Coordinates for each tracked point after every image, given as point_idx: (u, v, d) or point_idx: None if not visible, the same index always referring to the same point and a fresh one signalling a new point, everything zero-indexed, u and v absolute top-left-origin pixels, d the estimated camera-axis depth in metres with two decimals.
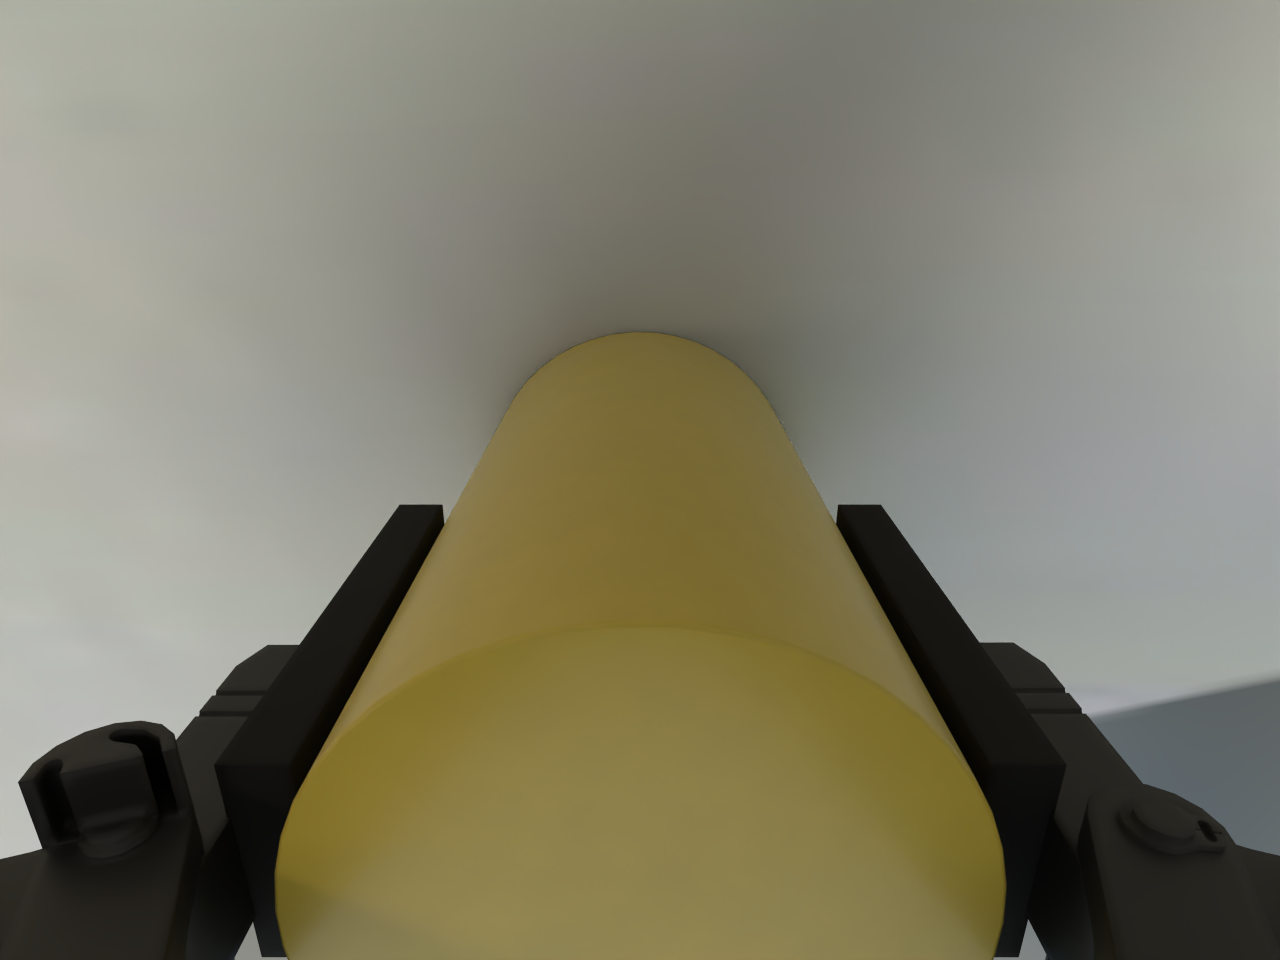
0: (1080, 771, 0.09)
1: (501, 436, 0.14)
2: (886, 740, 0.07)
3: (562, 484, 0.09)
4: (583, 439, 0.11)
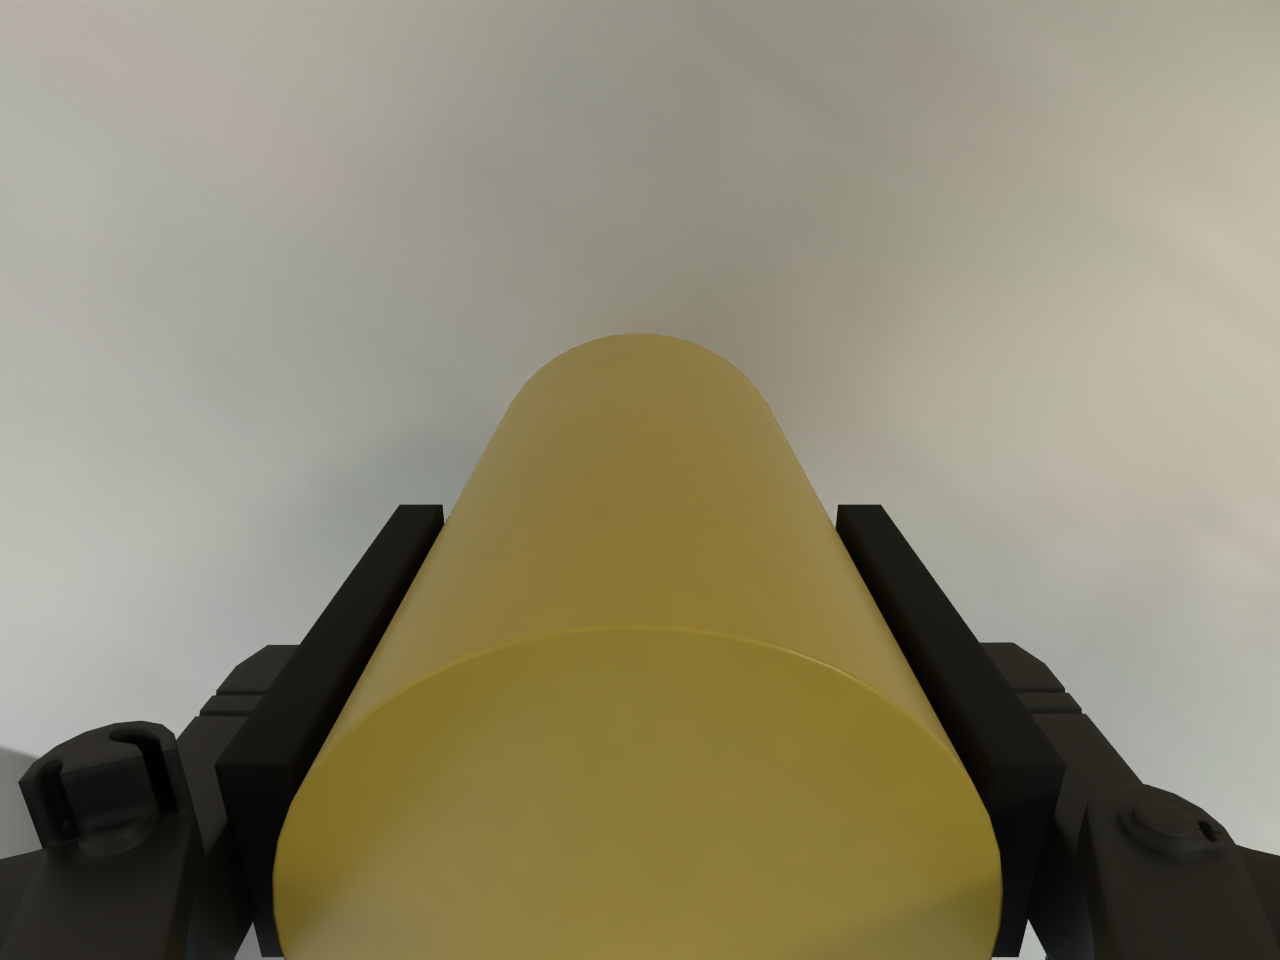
0: (1081, 771, 0.09)
1: (500, 438, 0.14)
2: (882, 744, 0.07)
3: (561, 486, 0.09)
4: (581, 442, 0.11)
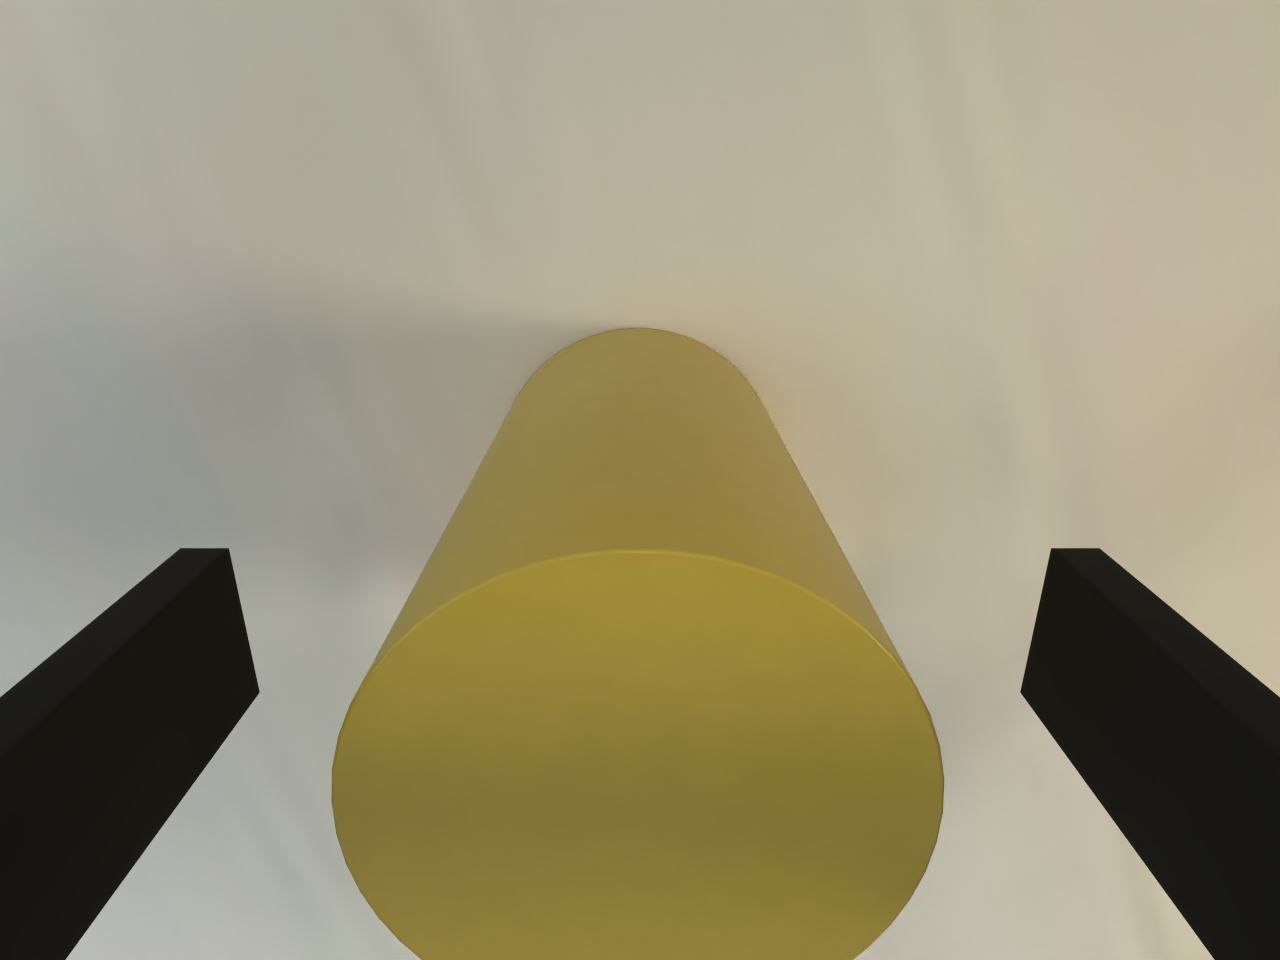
0: None
1: (512, 420, 0.15)
2: (840, 651, 0.08)
3: (571, 452, 0.11)
4: (587, 417, 0.12)
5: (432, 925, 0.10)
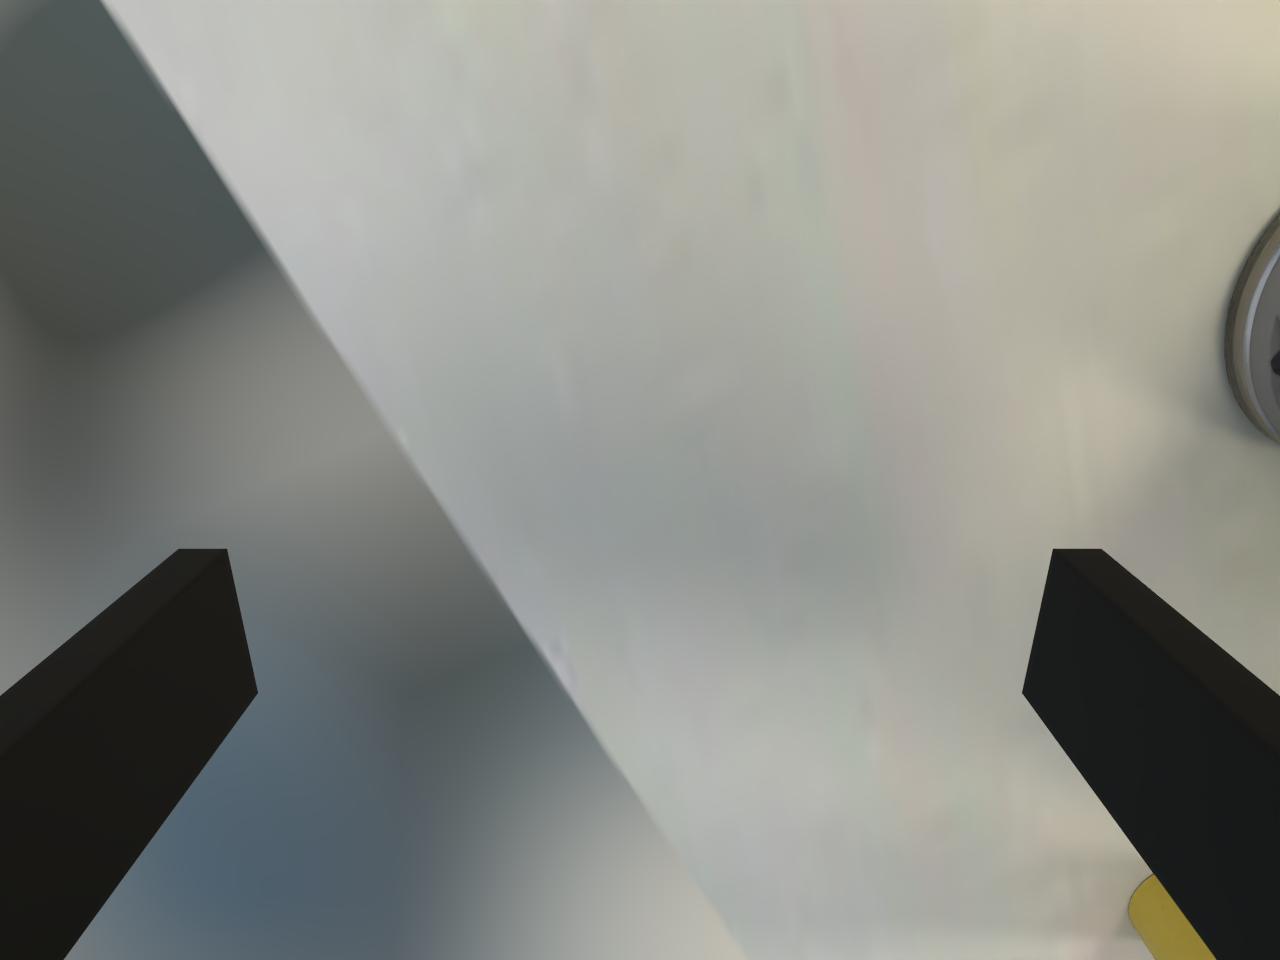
0: None
1: None
2: None
3: None
4: None
5: None
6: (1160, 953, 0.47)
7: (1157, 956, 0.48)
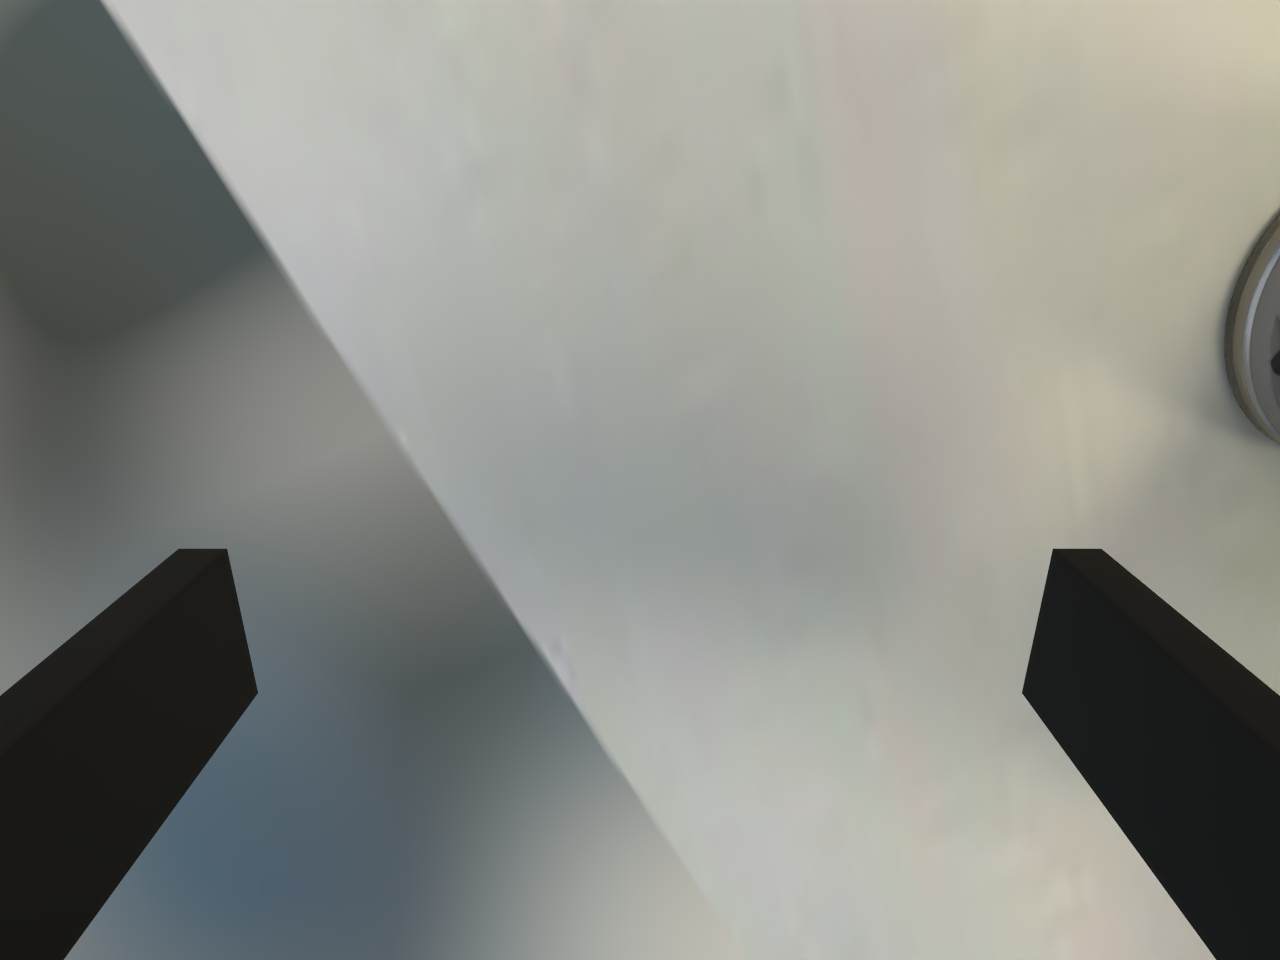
0: None
1: None
2: None
3: None
4: None
5: None
6: None
7: None
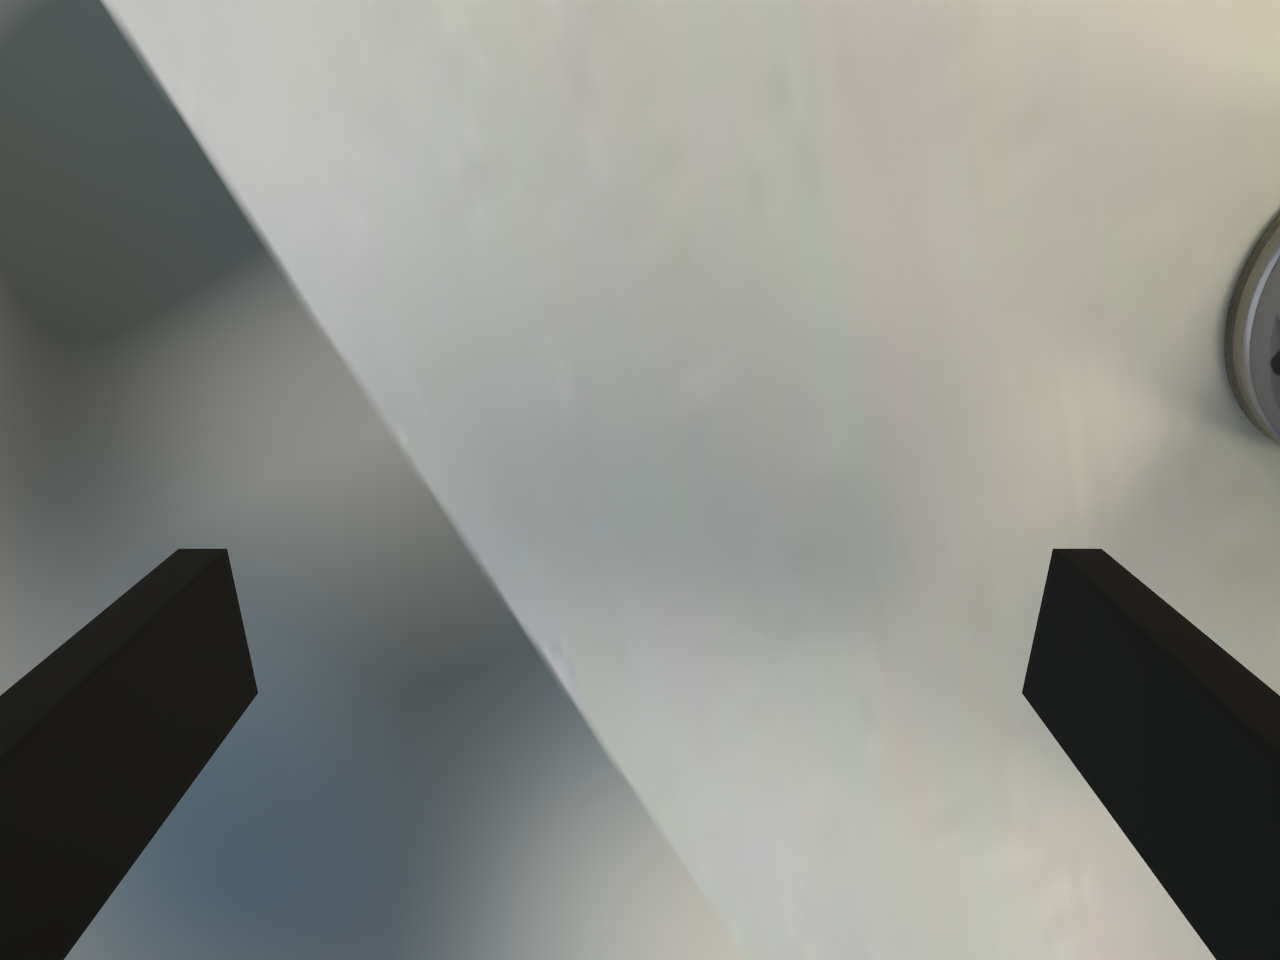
0: None
1: None
2: None
3: None
4: None
5: None
6: None
7: None
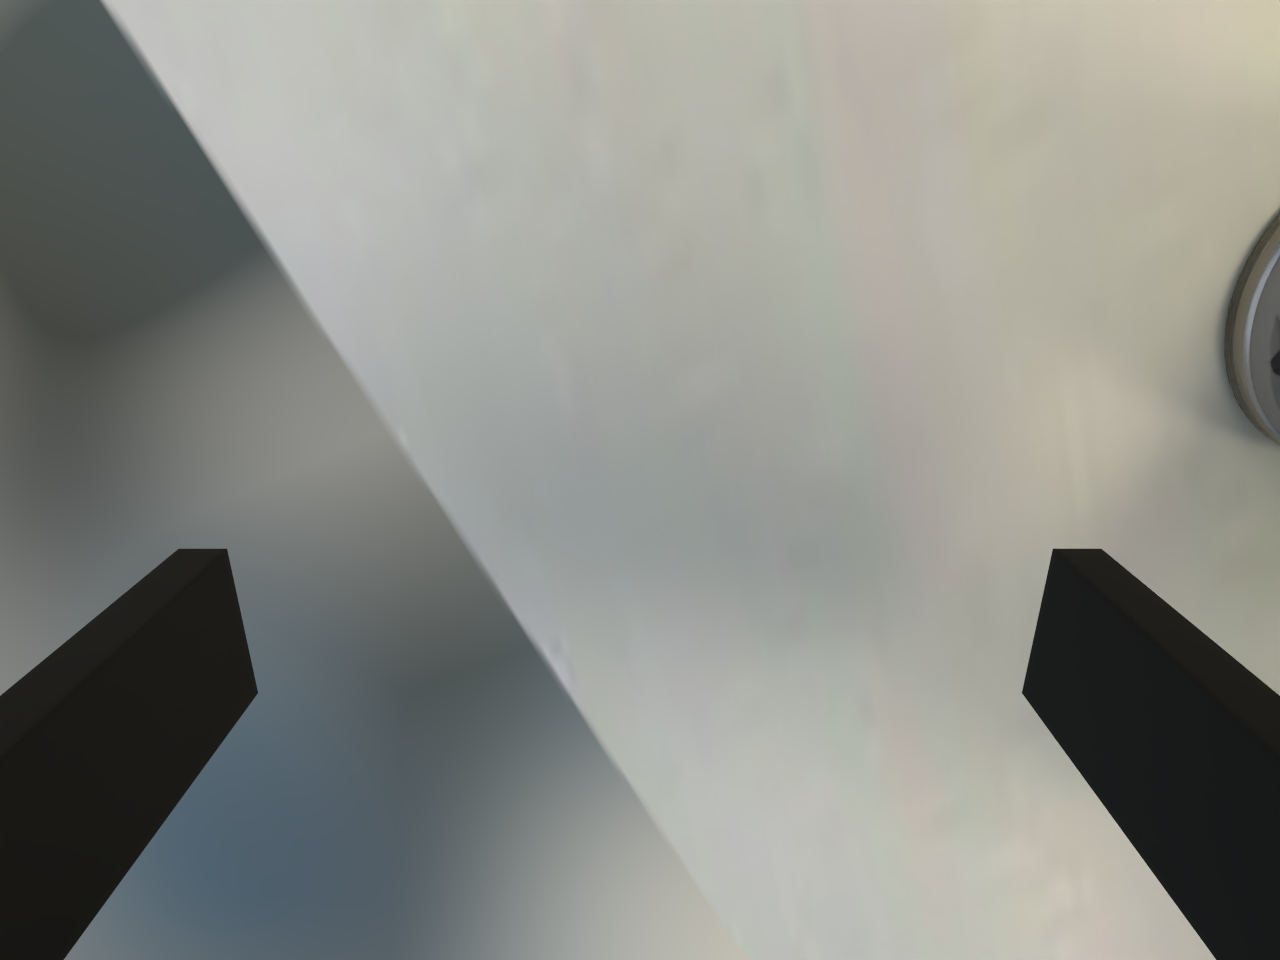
0: None
1: None
2: None
3: None
4: None
5: None
6: None
7: None
